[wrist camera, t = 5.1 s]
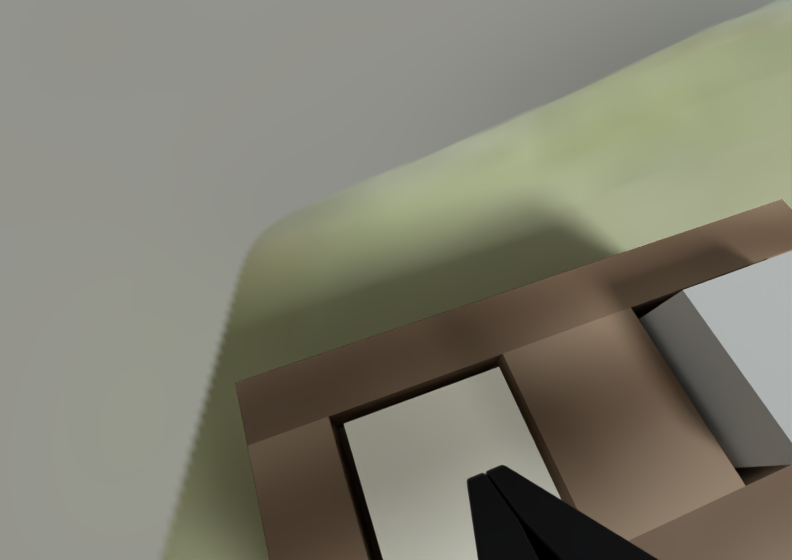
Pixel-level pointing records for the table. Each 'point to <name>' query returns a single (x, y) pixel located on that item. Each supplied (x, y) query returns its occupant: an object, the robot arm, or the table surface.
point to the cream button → (439, 464)
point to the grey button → (735, 357)
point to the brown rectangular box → (538, 407)
